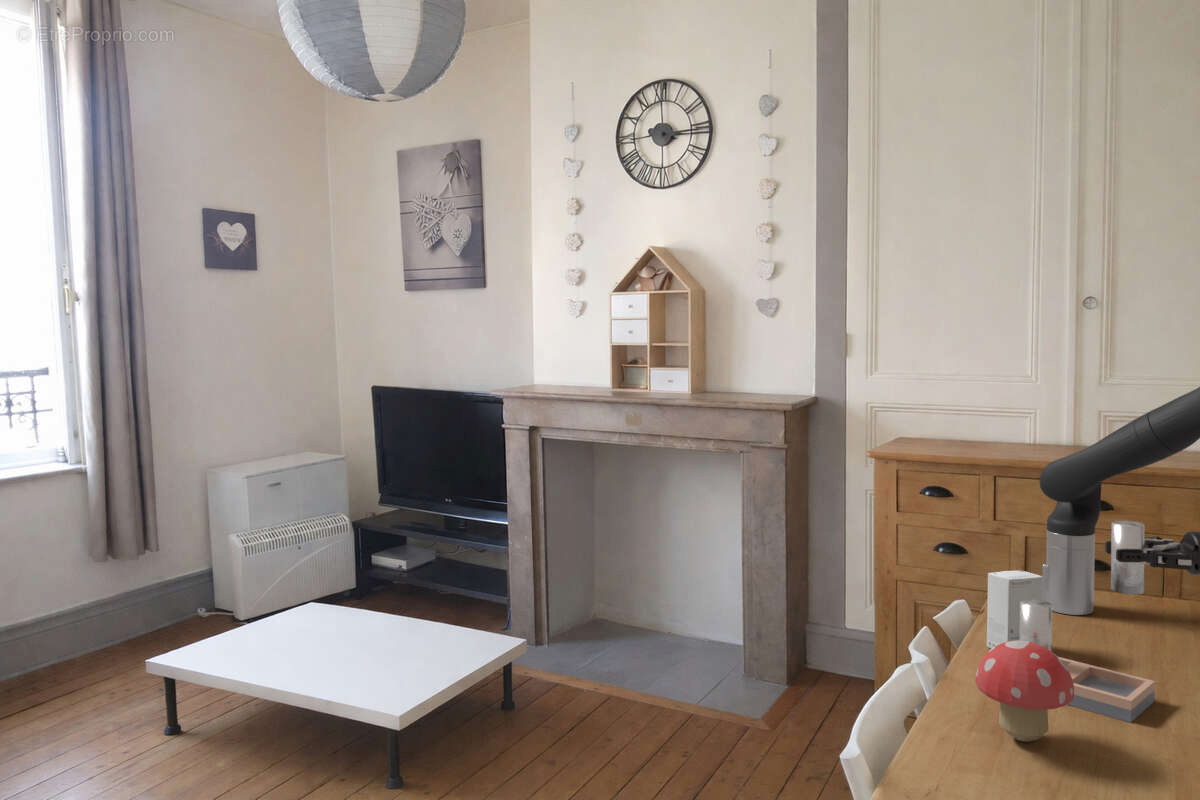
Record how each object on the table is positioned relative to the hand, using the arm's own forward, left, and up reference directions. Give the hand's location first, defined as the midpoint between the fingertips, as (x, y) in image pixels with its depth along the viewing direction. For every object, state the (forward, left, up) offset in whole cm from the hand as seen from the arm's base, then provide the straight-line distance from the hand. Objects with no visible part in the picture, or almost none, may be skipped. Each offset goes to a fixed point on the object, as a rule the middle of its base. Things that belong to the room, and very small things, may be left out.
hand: (1111, 551), depth 155 cm
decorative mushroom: (+1, -37, -22) cm, 43 cm away
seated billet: (-7, -14, -20) cm, 25 cm away
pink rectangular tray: (-1, -14, -22) cm, 26 cm away
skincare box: (-16, -1, -22) cm, 27 cm away
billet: (+2, +2, -7) cm, 7 cm away
